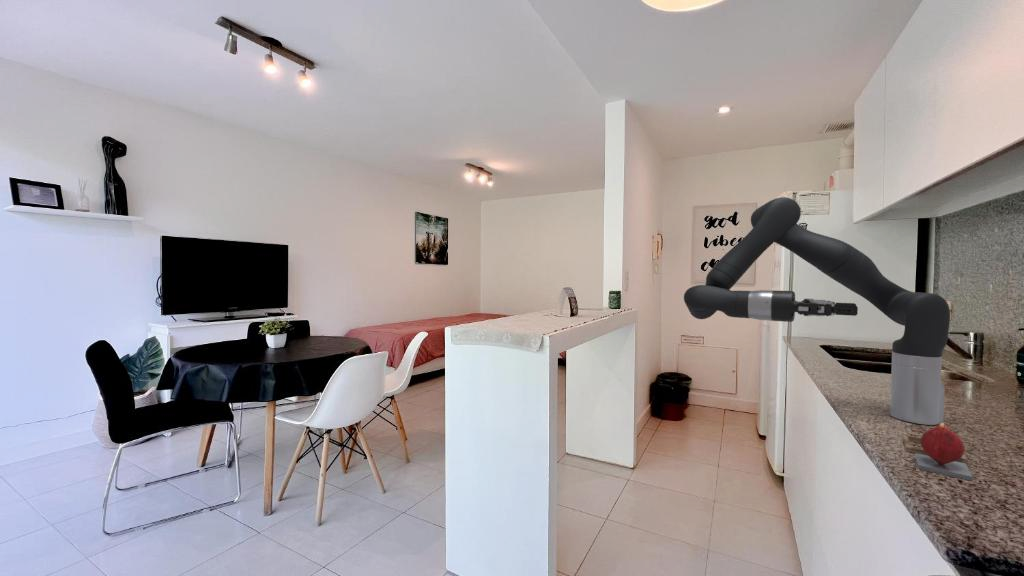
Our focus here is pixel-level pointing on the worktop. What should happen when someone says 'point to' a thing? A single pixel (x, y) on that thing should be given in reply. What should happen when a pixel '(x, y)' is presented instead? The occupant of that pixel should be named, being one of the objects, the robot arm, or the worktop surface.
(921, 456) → the coaster
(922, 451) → the square wooden frame
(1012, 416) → the worktop surface
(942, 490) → the worktop surface
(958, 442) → the onion
